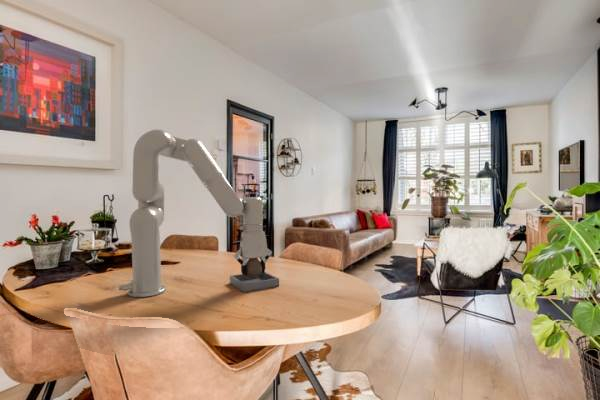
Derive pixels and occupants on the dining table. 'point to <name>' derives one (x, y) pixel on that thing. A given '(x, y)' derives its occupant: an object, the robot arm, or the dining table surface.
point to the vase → (254, 268)
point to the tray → (254, 282)
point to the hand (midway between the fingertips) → (253, 273)
